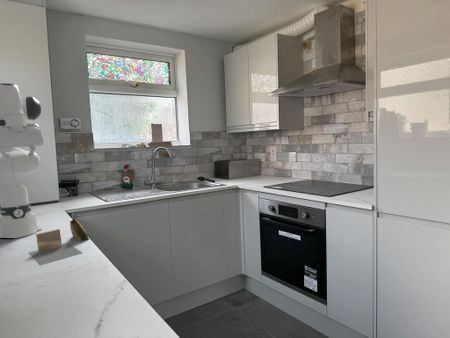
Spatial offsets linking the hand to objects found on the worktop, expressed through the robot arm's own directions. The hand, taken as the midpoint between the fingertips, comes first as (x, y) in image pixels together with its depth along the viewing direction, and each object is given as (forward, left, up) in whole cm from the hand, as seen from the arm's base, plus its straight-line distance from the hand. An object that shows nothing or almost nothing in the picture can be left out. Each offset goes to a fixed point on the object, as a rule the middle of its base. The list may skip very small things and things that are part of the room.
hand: (19, 157), depth 127 cm
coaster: (+13, +4, -36) cm, 39 cm away
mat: (+19, +4, -37) cm, 41 cm away
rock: (+8, +17, -37) cm, 41 cm away
